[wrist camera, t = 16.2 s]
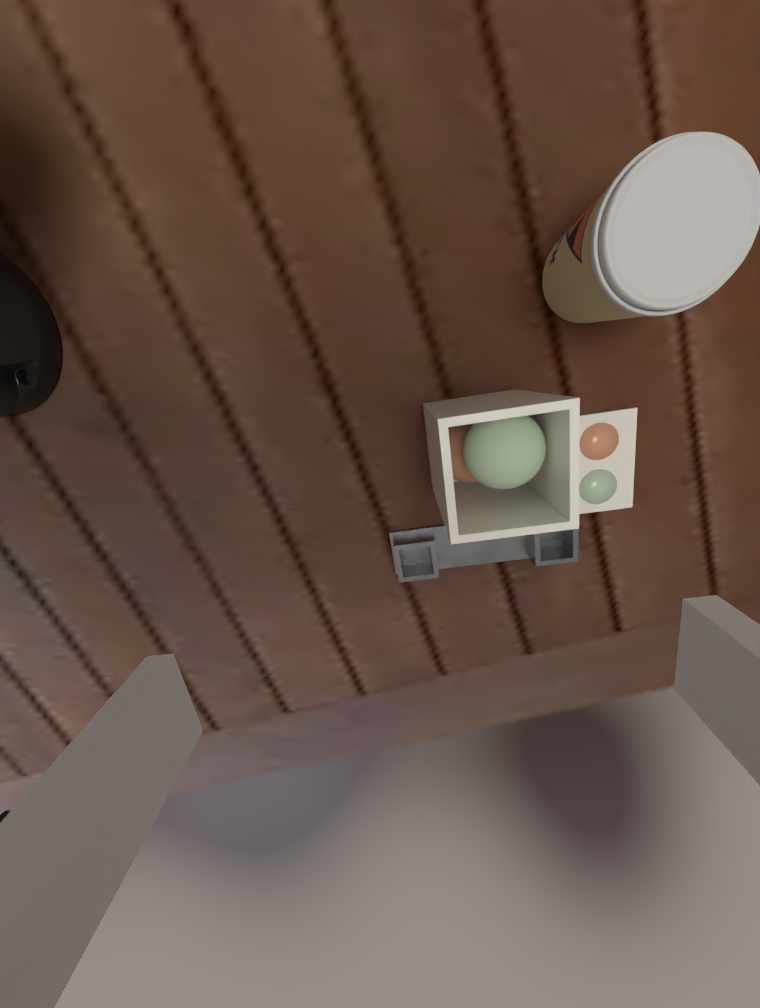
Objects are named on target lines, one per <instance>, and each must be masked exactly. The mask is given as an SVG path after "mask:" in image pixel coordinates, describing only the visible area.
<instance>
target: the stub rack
mask: <svg viewBox="0 0 760 1008" xmlns="http://www.w3.org/2000/svg"><path fill="white" fill-rule="evenodd" d="M389 535H390V541H391V547H392V554H393V560H394V566H395V573H396V574H398V579H399V582H407V581H416V580H424V579H433V578H439V572H438V569H444V568H452V567H460V566H469V565H477V564H486V563H494V562H502V561H511V560H519V559H528V558H530V559H531V561H532V562H533V564H534V565H535V566H544V565H552V564H561V563H569V562H578V529H571V530H563V531H555V532H547V533H539V534H531V535H523V536H515V537H507V538H499V539H491V540H483V541H475V542H467V543H459V544H451V543H450V540H449V537H448V534H447V531H446V528H445V525H437V526H429V527H421V528H414V529H406V530H398V531H390V532H389Z"/></svg>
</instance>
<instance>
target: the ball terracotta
mask: <svg viewBox="0 0 760 1008" xmlns="http://www.w3.org/2000/svg"><path fill="white" fill-rule="evenodd" d="M472 425H473V424H467V425H460V426H453V427H448V431H449V441H450V451H451V462H452V472H453V479H455V480H458V481H460V482H465V483H475V482H479V481H477V480H476V479H475V478H474V477H473V476H472V475H471V474H470V472H469V471H468V469H467V467H466V464H465V461H464V457H463V445H464V441H465V438H466V435H467V433H468V431H469V429H470V428H471V427H472Z"/></svg>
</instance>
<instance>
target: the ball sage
mask: <svg viewBox="0 0 760 1008" xmlns="http://www.w3.org/2000/svg"><path fill="white" fill-rule="evenodd" d="M545 454H546V441H545V437H544V434H543V432H542V430H541V428H540V427H539V425H538V424H537V423H536V422H535V421H534V420H533V419H532V418H531V417H529V416H528V415H527V416H521V417H514V418H507V419H501V420H494V421H487V422H480V423H474V424H473V425H472V427H471V428H470V429H469V431H468V433H467V435H466V438H465V441H464V445H463V457H464V461H465V464H466V467H467V469H468V471H469V472H470V474H471V475H472V476H473V477H474V478H475V479H476V480H477V481H479V482H480V483H482V484H483V485H485V486H488V487H490V488H494V489H512V488H516V487H518V486H521V485H523V484H525V483H526V482H528V481H529V480H530V479H532V478H533V477H534V476H535V475H536V474H537V472H538V471H539V470H540V468H541V466H542V464H543V462H544V459H545Z"/></svg>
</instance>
